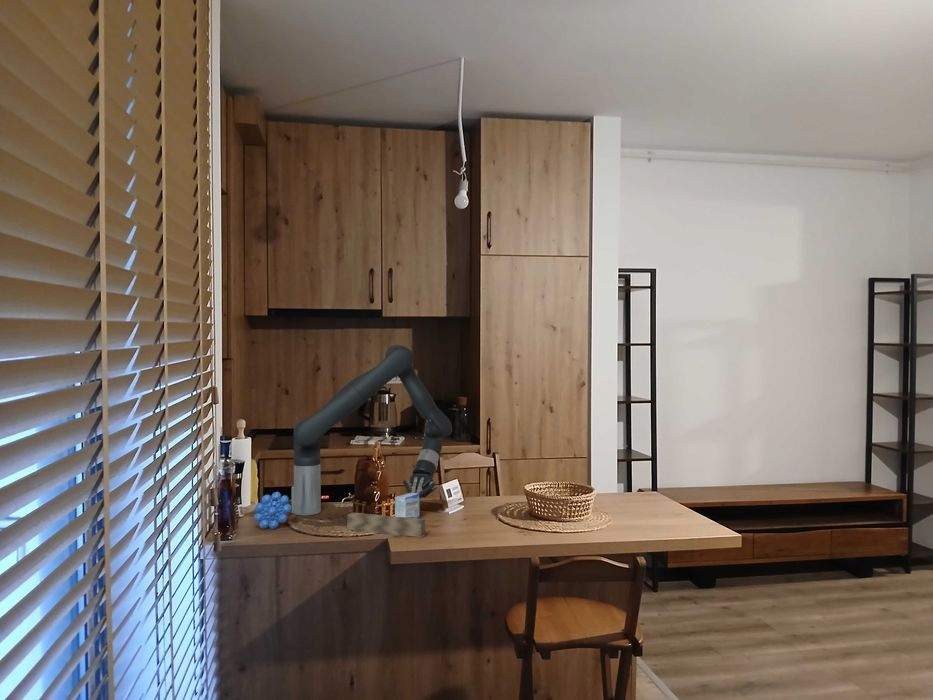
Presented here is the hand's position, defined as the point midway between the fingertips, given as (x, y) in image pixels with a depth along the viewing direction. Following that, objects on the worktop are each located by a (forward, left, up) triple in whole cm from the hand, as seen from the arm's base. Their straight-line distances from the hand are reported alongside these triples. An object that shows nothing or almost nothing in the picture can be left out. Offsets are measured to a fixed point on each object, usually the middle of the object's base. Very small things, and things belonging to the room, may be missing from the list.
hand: (412, 506), depth 226 cm
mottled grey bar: (0, -20, -4) cm, 21 cm away
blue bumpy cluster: (-37, -28, -4) cm, 46 cm away
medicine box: (0, -5, -4) cm, 6 cm away
